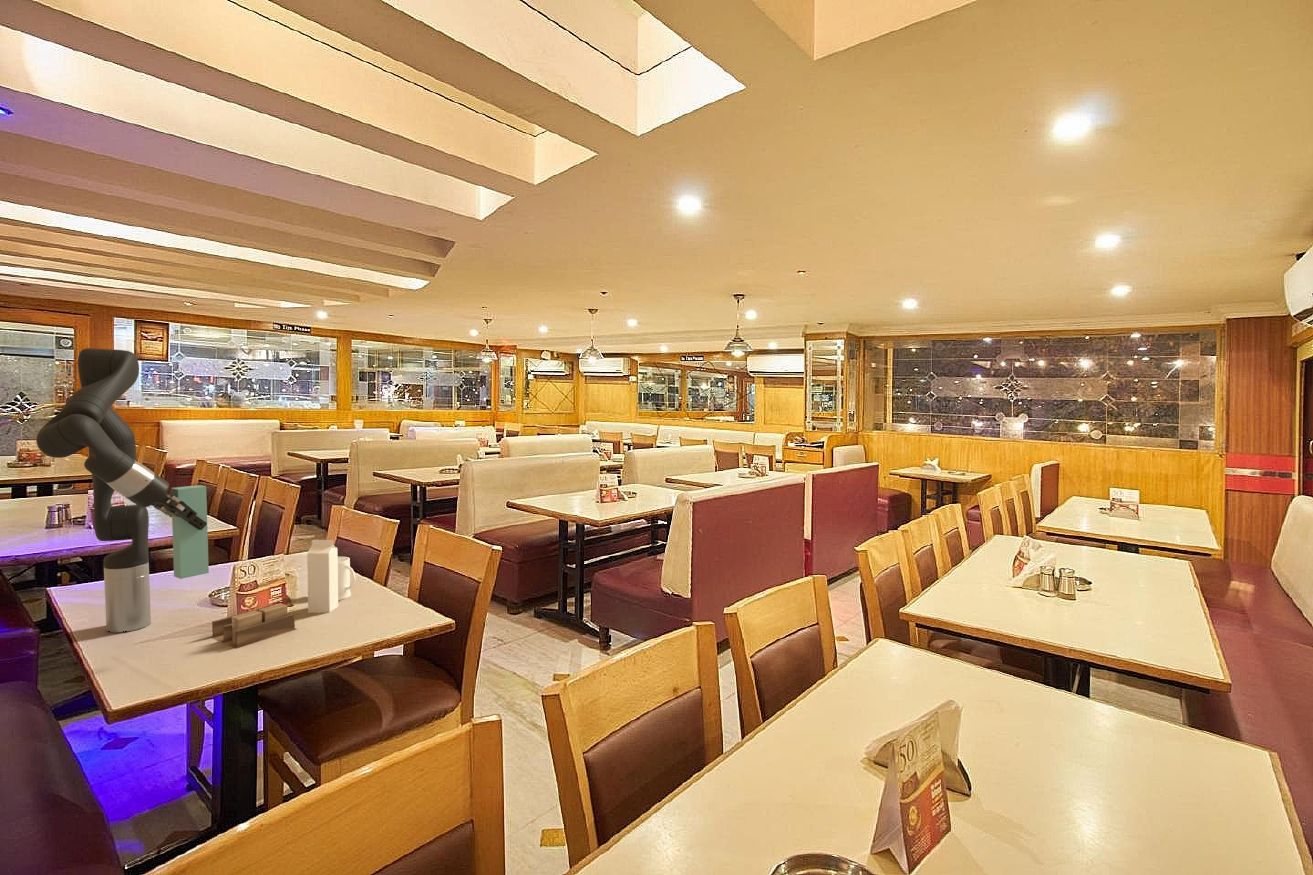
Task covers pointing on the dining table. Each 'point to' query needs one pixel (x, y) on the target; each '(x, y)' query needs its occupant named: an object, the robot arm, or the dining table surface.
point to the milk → (322, 576)
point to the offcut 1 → (245, 621)
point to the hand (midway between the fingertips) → (199, 525)
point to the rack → (251, 630)
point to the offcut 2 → (273, 612)
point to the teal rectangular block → (190, 534)
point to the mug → (344, 578)
